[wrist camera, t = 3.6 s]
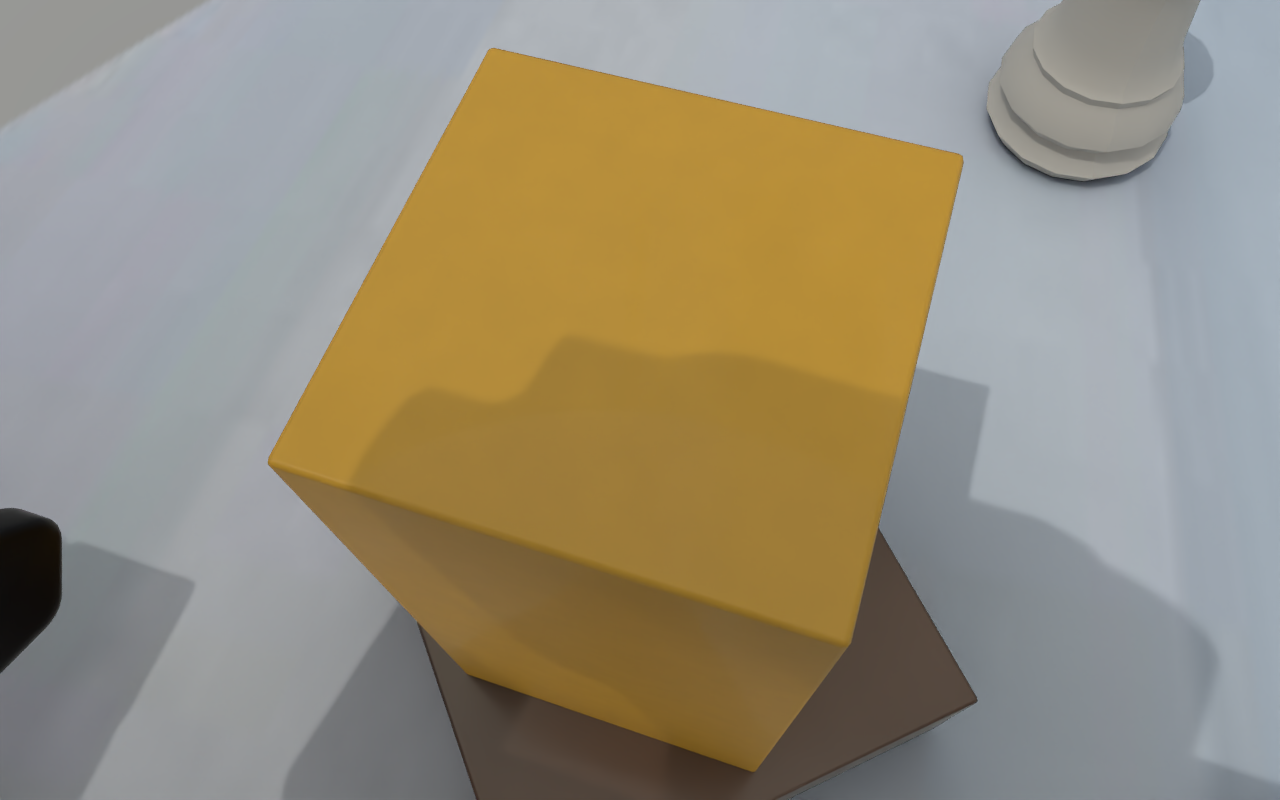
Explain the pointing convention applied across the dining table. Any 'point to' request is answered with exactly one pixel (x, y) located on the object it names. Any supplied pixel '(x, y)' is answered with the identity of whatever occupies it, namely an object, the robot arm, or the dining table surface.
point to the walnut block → (696, 784)
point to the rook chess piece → (1092, 86)
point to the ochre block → (631, 396)
